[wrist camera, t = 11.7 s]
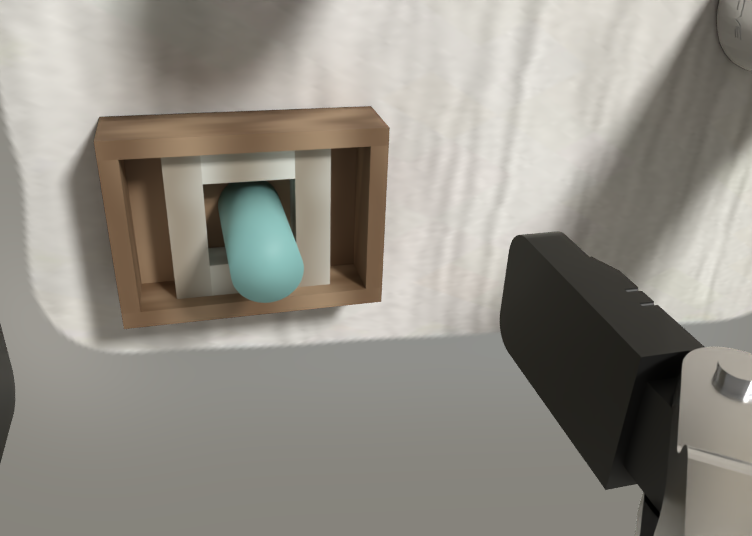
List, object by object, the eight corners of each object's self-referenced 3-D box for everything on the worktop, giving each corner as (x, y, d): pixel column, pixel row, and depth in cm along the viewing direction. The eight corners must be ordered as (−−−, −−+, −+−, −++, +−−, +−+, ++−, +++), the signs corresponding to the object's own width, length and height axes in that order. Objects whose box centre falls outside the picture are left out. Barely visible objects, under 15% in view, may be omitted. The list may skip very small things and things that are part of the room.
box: (371, 106, 42) (389, 127, 38) (365, 270, 47) (381, 301, 44) (99, 116, 38) (93, 141, 35) (126, 292, 43) (123, 329, 40)
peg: (279, 175, 41) (304, 236, 35) (279, 230, 43) (303, 299, 37) (216, 177, 41) (229, 241, 34) (219, 234, 42) (232, 305, 36)
